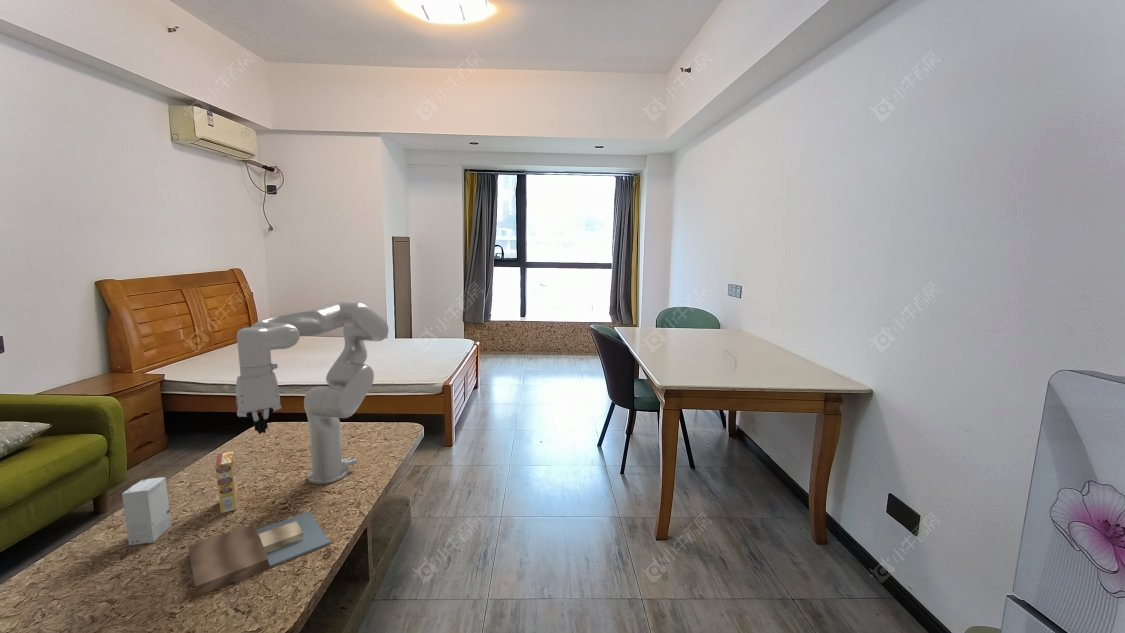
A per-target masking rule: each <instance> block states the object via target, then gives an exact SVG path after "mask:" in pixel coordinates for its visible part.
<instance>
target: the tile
mask: <svg viewBox="0 0 1125 633" xmlns="http://www.w3.org/2000/svg"><path fill="white" fill-rule="evenodd" d="M258 537H259V539H260V542H261V544H262V546H263V549H264V551H265V553H268V552H271V551H274V550H276V549H279V548H282V547H284V546H287V545H290V544H292V543H295V542H298V541H301V540H303V532H302V530H301V528H300V527H299V525H298V523H297V521H295V522H292V523H289V524H286V525H283V526H280V527H278V528H275V529H272V530H269V531H266V532H263V533H260V534H258Z"/></svg>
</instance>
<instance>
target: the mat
mask: <svg viewBox="0 0 1125 633" xmlns="http://www.w3.org/2000/svg"><path fill="white" fill-rule="evenodd" d="M295 521H297V523H298V525H299V527H300V528H301V530H302V532H303V540H301V541H298V542H295V543H292V544H290V545H287V546H284V547H282V548H279V549H276V550H274V551H271V552H268V553H266V556H267V558H268V567H269V568H273V567H275V566H278V565H280V564H282V563H286V562H288V561H291V560H293V559H296V558H298V557H301V556H303V555H306V554H308V553H311V552H313V551H314V552H315V551H317V550H319V549H321V548H325V547H326V546H328V545H331V544H330V541H329V538H328V537H327V536H326V534H325V533H324V532H323V530H322V528H321V527H320V525H319V524H318V522H317V521H316V518H315V517H314V515H313V514H312V513H311V511H309V512H305V513H303V514H299V515H296V516H293V517H290V518H288V519H285V520H282V521H279V522H275V523H272V524H270V525H267V526H264V527H261V528H258V529H255V530H256V532H257V534H260V533H263V532H266V531H269V530H272V529H275V528H278V527H280V526H283V525H286V524H289V523H292V522H295Z"/></svg>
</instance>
